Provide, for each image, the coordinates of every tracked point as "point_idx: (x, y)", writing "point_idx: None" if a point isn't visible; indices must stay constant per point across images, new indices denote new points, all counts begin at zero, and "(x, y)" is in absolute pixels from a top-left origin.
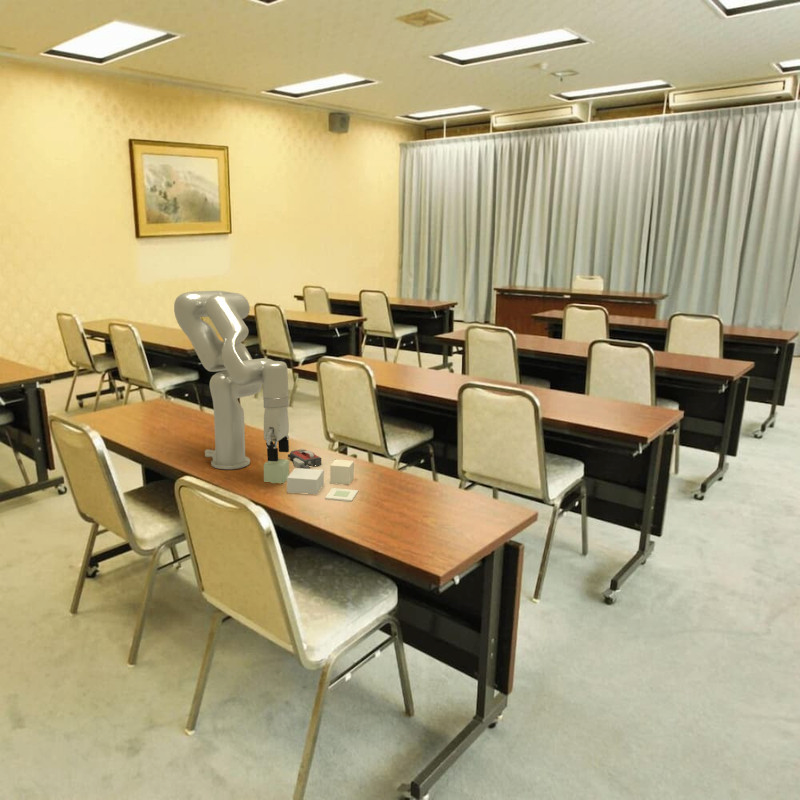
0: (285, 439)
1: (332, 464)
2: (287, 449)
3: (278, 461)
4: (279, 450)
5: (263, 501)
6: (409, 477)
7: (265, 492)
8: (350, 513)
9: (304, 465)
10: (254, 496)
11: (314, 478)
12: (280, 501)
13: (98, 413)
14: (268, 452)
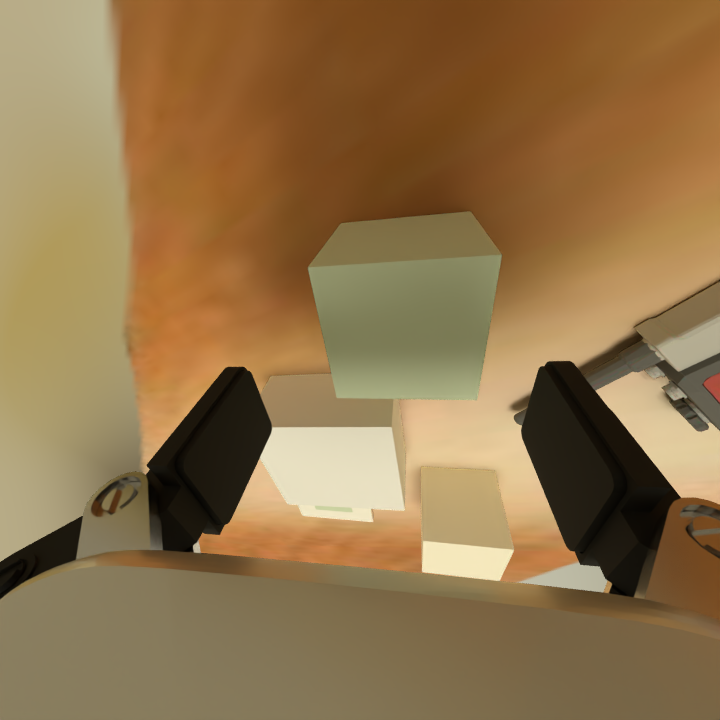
0: (596, 558)
1: (437, 544)
2: (528, 453)
3: (421, 349)
4: (546, 377)
5: (144, 327)
6: (511, 577)
7: (222, 295)
8: (242, 511)
9: (625, 374)
10: (152, 268)
11: (295, 498)
12: (190, 379)
13: None
14: (189, 431)
